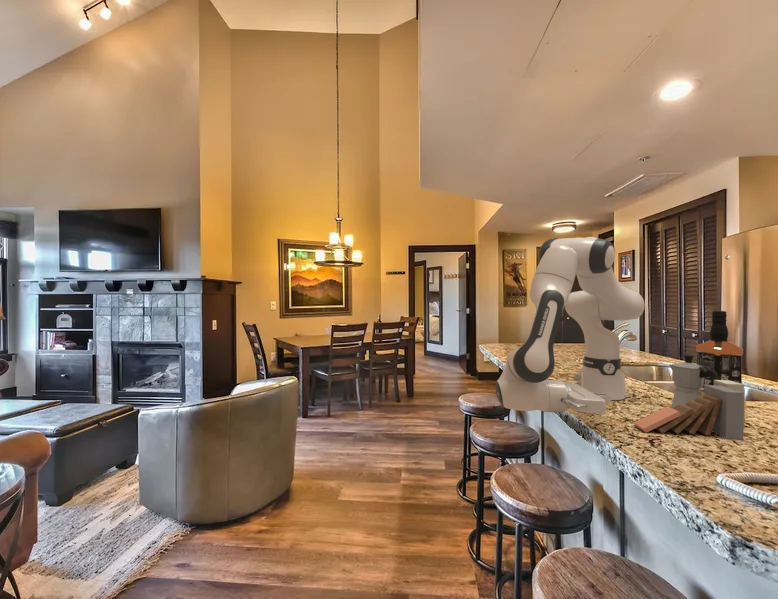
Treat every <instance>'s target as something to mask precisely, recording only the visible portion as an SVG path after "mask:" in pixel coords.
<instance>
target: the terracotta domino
mask: <svg viewBox="0 0 778 599" xmlns="http://www.w3.org/2000/svg"><path fill="white" fill-rule="evenodd" d="M679 416H681V414H680V413H679V411H677V410H675V409H673V408H671V407H670V406H668V405H666V406H664V407H663V408H661V409H659V410H657V411H655V412H652V413H651V414H648V415H646V416H645V417H643V418H640V419H638V420H636V421H634V422H633V424H634V425H635V427H636V428H638V429H639V430H641V431H642V432H644V433H649V432H650V431H653V430H655V428H657V427H659V426H661V425H663V424H665V423H667V422H669V421H671V420H673V419H675V418H677V417H679Z"/></svg>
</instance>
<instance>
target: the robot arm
mask: <svg viewBox="0 0 778 599" xmlns="http://www.w3.org/2000/svg"><path fill="white" fill-rule="evenodd" d="M538 252H539V253H538V260H539V263H538V265H537V267H536V269H535V272H534V274H533V276H532V277H533V278H532V280H531V284H530V290H529V298H530V300H531V302H532V303H533V305H534V306H535V313H534V317H533V321H532V324H531V327H530V331H529V335H528V337H527V339H526V341H525V342H524V343H523V344H522V345H521V346H519V347H516V348H514V349H512V350H511V351H510V352H509V353H508V354H507V358H506V361H505V365H504V369H503V370H502V372H501V375H500V376H499V378H498V379H497V380H496V381H495V392H496V397H497V400H498V402H499V404H500V405H501V406H502V407H503V408H505V409H508V410H513V411H524V412H532V411H541V412H543V413H559V414H560V413H561V414H562V413H563V414H564V413H565V412H566V411H567V409H571V410H572V411H574V412H577V413H578V412H579V413H585V414H595V415H602V414H603V415H604V414H605V413H607V409H606V408H607V405H606V404H607V403H609V404H610V403H611V401H620V400H624V399H625V398H629V397H630V394H629V392H627V390H626V379H625V378H626V377H625V376H626V375H625V374H624V372H622V371H621V369H622V359H621V358H620V354H621V353H620V348H621V347H620V346H621V345H620V344H621V343H620V341H621V339H620V338H619V336H618V335H617V334H616V332H614V331H612V330H610V329H608V328H606V327H604V325H603V324H602V321H617V322H618V321H621V322H624V321H630V320H636V319H638V318H640V317H641V316H642V315H643V313H644V310H645V307H646V306H645V300H644V298H643V297H642V295H641V294H640V293H639V292H638V291H634V290H631V289H630V288H628V287H626V286H624V285H623V284H622V283H621V282H620V281H619V280H618V279H617V277H616V275H615V272H614V269H613V265H614V262H615V258H616V250H615V246H614V244H613V243H611V241H610V240H608V239H603V238H599V237H595V236H587V237H580V236H579V237H567V238H565V237H562V238H557V237H555V238H550V239H547V240H545V241H544V242H543V244H542V245H541V246H540V248H539V251H538ZM575 278H576V279H577V281H578V285H579V287H580V289H581V290H578V291H572V288H573V286H574V284H575V283H574V282H575V280H576V279H575ZM564 308H565V311H566V313H567V314H568V316H570V317H571V318H572V319H573V320H574V321H575V322H577V323H578V325H579V326H580V328H581V330H582V333H583V335H584V336H583V337H584V349H585V350H584V352H585V354H584V357H583V359H582V365H583V366H582V367H581V368H580V369H579V370H578V371H577V372H576V374H573V377H572V378H573V381H575V383H574V382H568V381H564V380H562V379H554V378H550V377H551V376H552V374H553V372H554V370H555V363H556V362H555V353H554V345H555V340H556V337H557V332H558V330H559V324H560V322H561V317H562V314H563V311H564Z"/></svg>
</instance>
